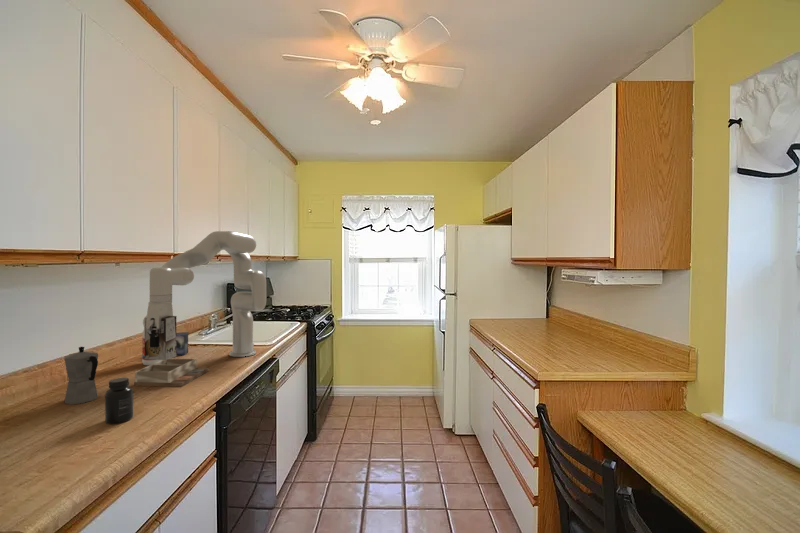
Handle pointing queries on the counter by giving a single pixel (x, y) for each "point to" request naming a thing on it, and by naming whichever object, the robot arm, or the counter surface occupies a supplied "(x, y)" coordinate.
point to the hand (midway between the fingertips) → (160, 344)
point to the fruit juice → (145, 361)
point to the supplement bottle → (118, 401)
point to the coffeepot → (81, 377)
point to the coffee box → (162, 340)
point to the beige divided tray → (169, 373)
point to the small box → (181, 343)
